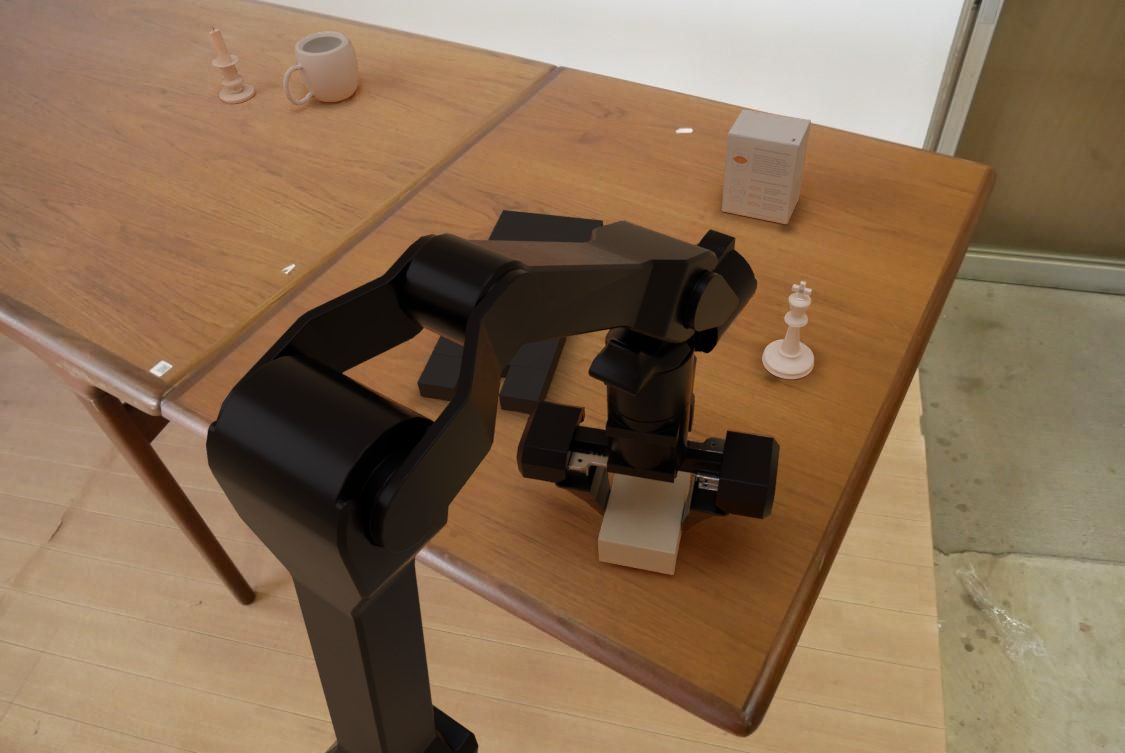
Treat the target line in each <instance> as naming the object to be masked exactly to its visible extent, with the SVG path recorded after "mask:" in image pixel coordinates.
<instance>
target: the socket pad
mask: <svg viewBox="0 0 1125 753" xmlns="http://www.w3.org/2000/svg"><path fill="white" fill-rule="evenodd" d="M601 226H604V220H602V219H594V218H584V217H575V216H574V217H573V216H567V215H566V216H565V215H554V214H545V213H536V212H528V211H527V212H526V211H517V210H509V209H503V210H502V211H501V213H500V215H499V217H498V219H497V222H496V223H495V225H494V227H493V229H492V231H491V233H490V235H489V237H488V239H487V240H500V241H537V242H574V243H585V242H588V241H590V237H591V234H592V231H593V230H594V229H596V228H597V227H601ZM567 338H568V337H562V338H557V339H551V340H545V341H539V342H533V343H528V344H523V345H522V346H521V348H520V349H519V350H518V352H517V353H516V354H515V355H514V357H513V358H512V359H511V361H510V362H509V363H508V365H507V366H506V367H505V368H504V370H503V371H502V373H501V378H505V379H504V381H503V384H502V385H501V388H500V390H499V398H498V400H499V404H500V409H501V410H506V411H511V412H517V413H518V412H520V413H523V414H530V412H531V409H532V407H533V406H535V405H536V404H537V403H538V402H540V401H546V398H547V394H548V392H549V389H550V387H551V384H552V381H553V378H554V375H555V373H556V370H557V366H558V364H559V361H560V358H561V355H562V352H563V349H564V347H565V344H566V341H567ZM463 348H464V346H462V345H460V344H458V343H456V342H453V341H451V340H449V339H447V338H445V337H443V336H440V335H439V338H438V340H437V342H436V344H435V345H434V347H433V350H432V352H431V354H430V356H429V357H428V360H427V362H426V364H425V366H424V368H423V369H422V372H421V374H420V376H419V377H418V380H417V387H418V390H419V394H420V397H424V398H430V399H435V400H443V401H450V402H451V400H452V399H453V398H454V396H455V395H456V393H457V388H458V382H459V375H460V368H461V361H462V354H463Z"/></svg>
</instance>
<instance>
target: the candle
mask: <svg viewBox="0 0 1125 753" xmlns="http://www.w3.org/2000/svg"><path fill="white" fill-rule="evenodd" d="M211 28H212V30H210V31H209V37H210V39H211V42H212V45H213V49H214V51H215V54H216V57H215V58H214V59H213V60H212V61H211V66H213V67H214V68H219V69H220V72H221V75H222V77H223V78H222V80H221V85H222V86H223V87H224V88H223V89H222V90H221V91H220V92H219V94H218V97H219V99H220V101H221V102H222V103H224V104H229V105H233V104H234V105H235V104H240V103H244V102H246V101H249V100H250V99H252V98H253V97H254V96H255V94H256V88H255V86H254V85H252V84H250V83H245V77H244V76H243V75H242V74H239V72H238V69H237V67H236V64H237V63H238V62H239V60H240V57H239V56H238V55H236V54H230V53H229V50H228V47H227V44H226V43H225V40H224V38H223V35H222V33H221V30H220V28H215V27H214V26H211ZM241 88H242V89H241ZM240 89H241V90H240ZM238 90H239V91H238ZM231 91H234V92H231ZM235 91H236V92H235Z"/></svg>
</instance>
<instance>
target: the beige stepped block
mask: <svg viewBox="0 0 1125 753" xmlns="http://www.w3.org/2000/svg"><path fill="white" fill-rule="evenodd" d="M691 475H692V473H688V472H682V471H678V474H677V477H676V478H675V480H674V483H669V482H663V481H657V480H651V479H645V478H639V477H633V476H628V475H622V474H616V473H614V476H613V479H612V480H613V481H612V483H611V486H610V489H611V491H610V495H609V499H608V503H607V507H606V510H605V514H604V516H603V518H602V522H601V526H600V530H599V534H598V537H597V546H598V549H597V550H598V561H599V562H602V563H608V564H613V565H619V566H622V567H623V566H624V567H629V568H635V569H638V570H644V571H649V572H655V573H661V574H664V575H671V576H674V575H675V568H676V564H677V559H678V554H679V548H680V544H681V543H680V542H681V537H682V532H683V531H681V521H682V516H683V511H684V505H685V502H686V498H687V495H688V492H689V489H690V485H691Z"/></svg>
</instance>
